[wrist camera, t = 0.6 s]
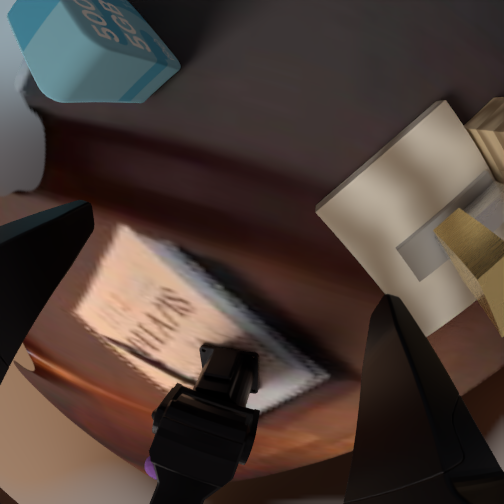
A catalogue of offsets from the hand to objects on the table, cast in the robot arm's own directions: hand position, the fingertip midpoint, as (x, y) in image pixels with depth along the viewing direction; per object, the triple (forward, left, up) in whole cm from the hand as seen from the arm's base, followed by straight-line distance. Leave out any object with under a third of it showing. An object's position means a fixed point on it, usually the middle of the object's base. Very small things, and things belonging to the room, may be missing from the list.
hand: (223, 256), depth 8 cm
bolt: (-2, -15, -14) cm, 20 cm away
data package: (+12, +13, -17) cm, 25 cm away
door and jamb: (-2, -15, -17) cm, 22 cm away
